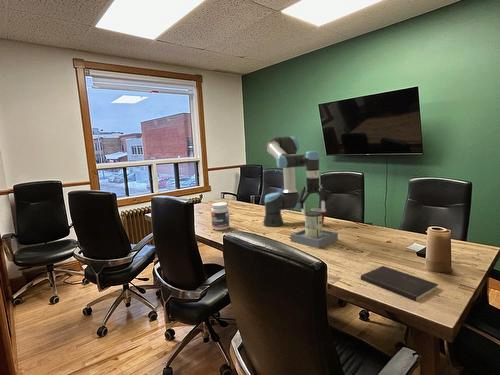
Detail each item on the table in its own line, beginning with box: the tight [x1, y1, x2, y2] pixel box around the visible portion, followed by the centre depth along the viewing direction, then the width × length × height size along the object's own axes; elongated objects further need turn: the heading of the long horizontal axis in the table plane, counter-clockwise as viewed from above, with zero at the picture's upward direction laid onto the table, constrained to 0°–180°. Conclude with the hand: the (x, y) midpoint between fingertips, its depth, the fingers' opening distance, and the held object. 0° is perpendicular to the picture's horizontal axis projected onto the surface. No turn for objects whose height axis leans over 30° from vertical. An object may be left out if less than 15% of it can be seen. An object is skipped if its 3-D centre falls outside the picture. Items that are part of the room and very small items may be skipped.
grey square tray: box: [289, 228, 339, 249], centre depth 177 cm, size 20×20×4 cm
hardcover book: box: [360, 265, 439, 302], centre depth 118 cm, size 16×23×2 cm
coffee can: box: [304, 210, 323, 238], centre depth 176 cm, size 10×10×14 cm
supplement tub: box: [210, 202, 230, 231], centre depth 214 cm, size 13×13×18 cm
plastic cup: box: [310, 207, 327, 226], centre depth 210 cm, size 11×11×12 cm
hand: (313, 212), depth 175 cm, fingers open, 13 cm apart
